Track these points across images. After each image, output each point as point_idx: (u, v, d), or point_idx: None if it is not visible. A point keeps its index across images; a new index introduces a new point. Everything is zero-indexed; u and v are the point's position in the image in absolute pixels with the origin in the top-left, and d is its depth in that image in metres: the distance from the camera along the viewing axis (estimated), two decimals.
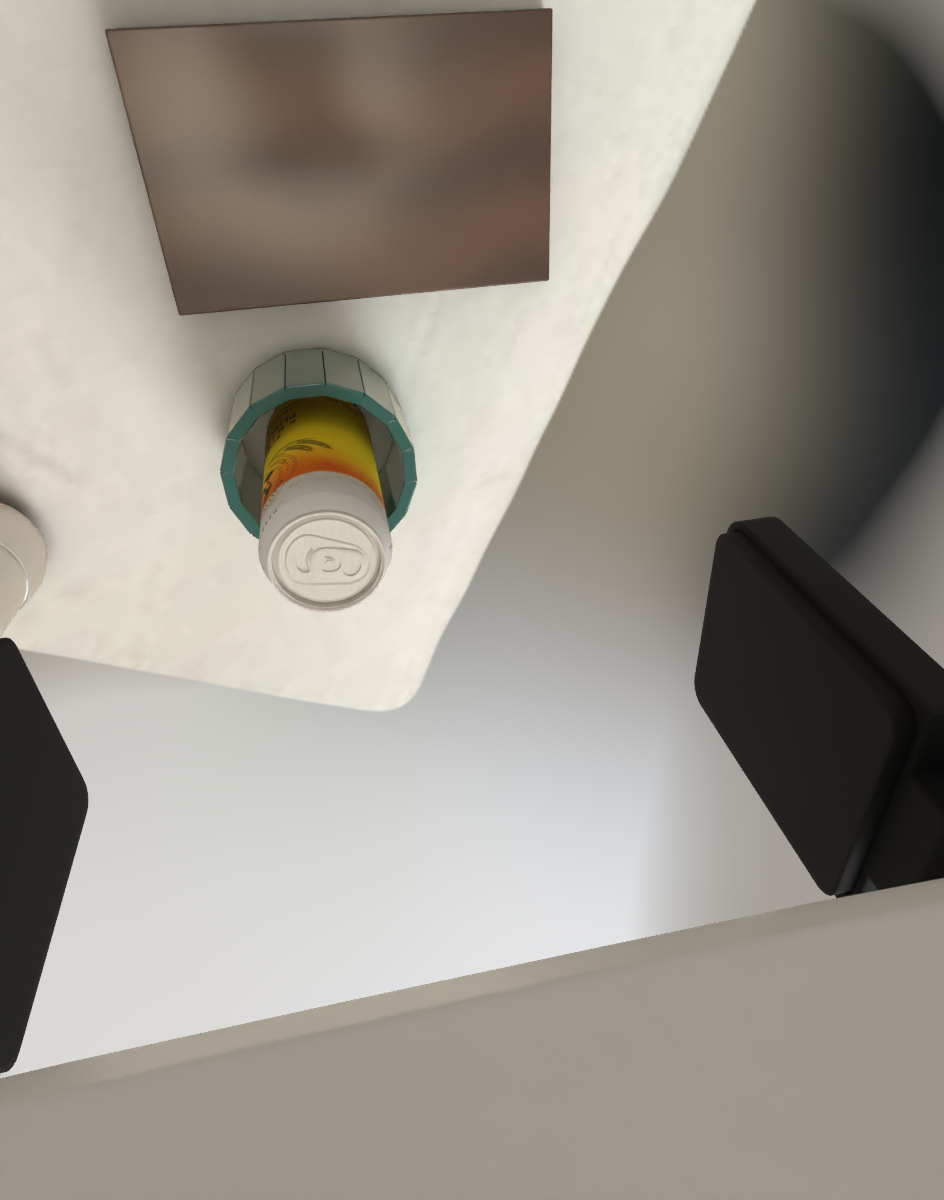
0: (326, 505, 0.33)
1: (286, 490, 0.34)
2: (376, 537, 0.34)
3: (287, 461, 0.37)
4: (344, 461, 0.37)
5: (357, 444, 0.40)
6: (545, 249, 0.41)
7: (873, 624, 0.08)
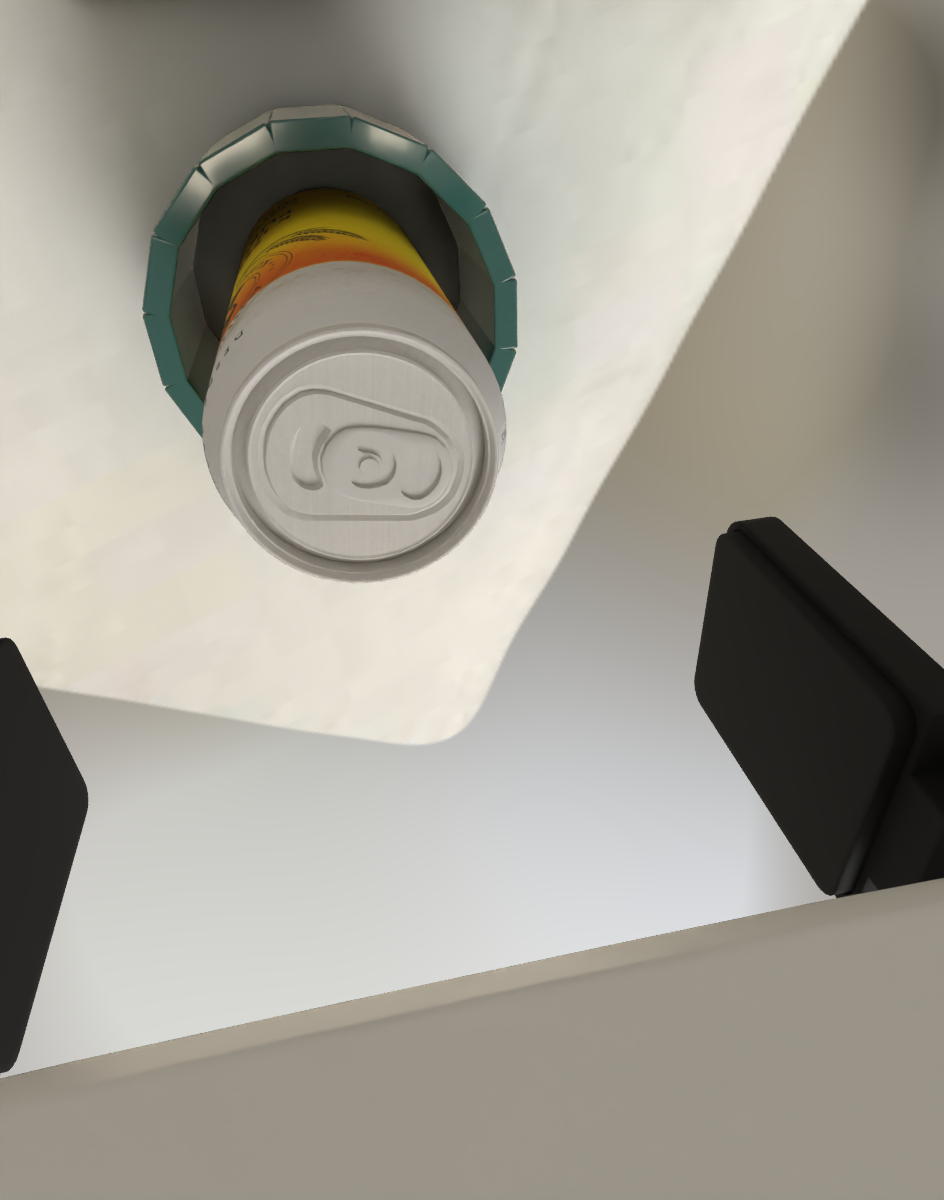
0: (365, 314, 0.13)
1: (267, 295, 0.15)
2: (481, 402, 0.14)
3: (272, 260, 0.17)
4: (395, 258, 0.17)
5: (414, 253, 0.20)
6: None
7: (873, 624, 0.08)
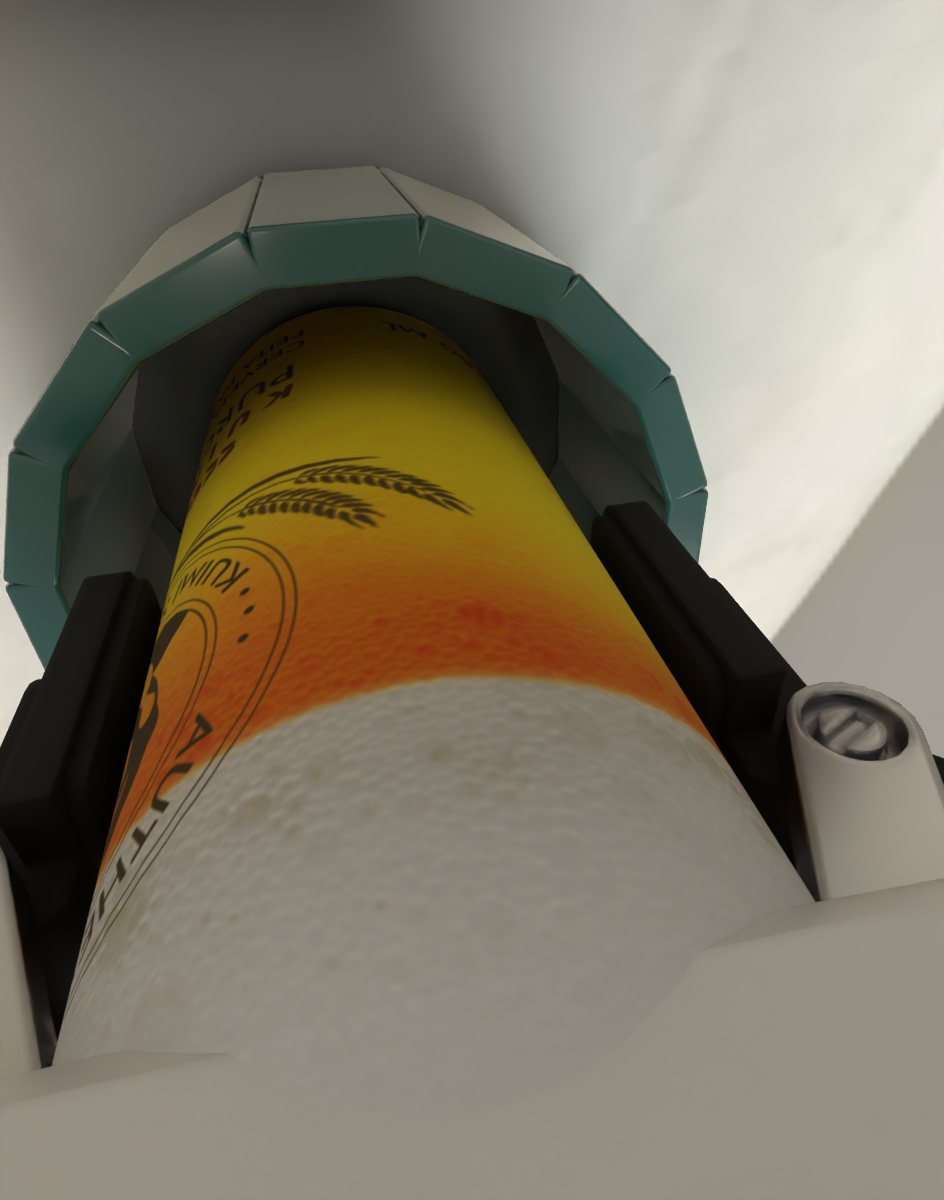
0: None
1: (220, 854, 0.05)
2: None
3: (248, 580, 0.07)
4: (548, 582, 0.07)
5: (539, 480, 0.10)
6: None
7: (707, 598, 0.09)
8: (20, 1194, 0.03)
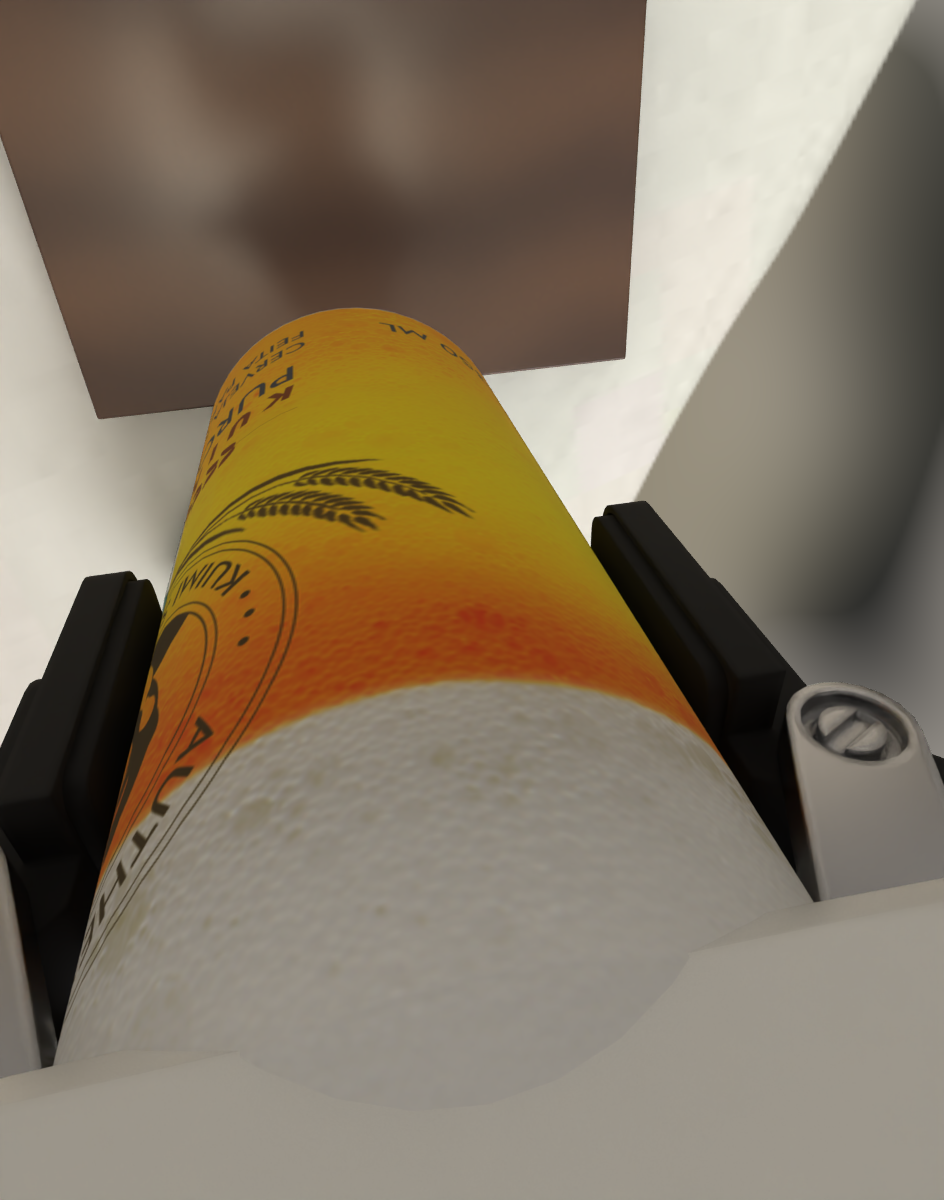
0: None
1: (220, 859, 0.05)
2: None
3: (248, 582, 0.07)
4: (548, 585, 0.07)
5: (539, 482, 0.10)
6: (622, 317, 0.29)
7: (706, 598, 0.09)
8: (19, 1194, 0.03)
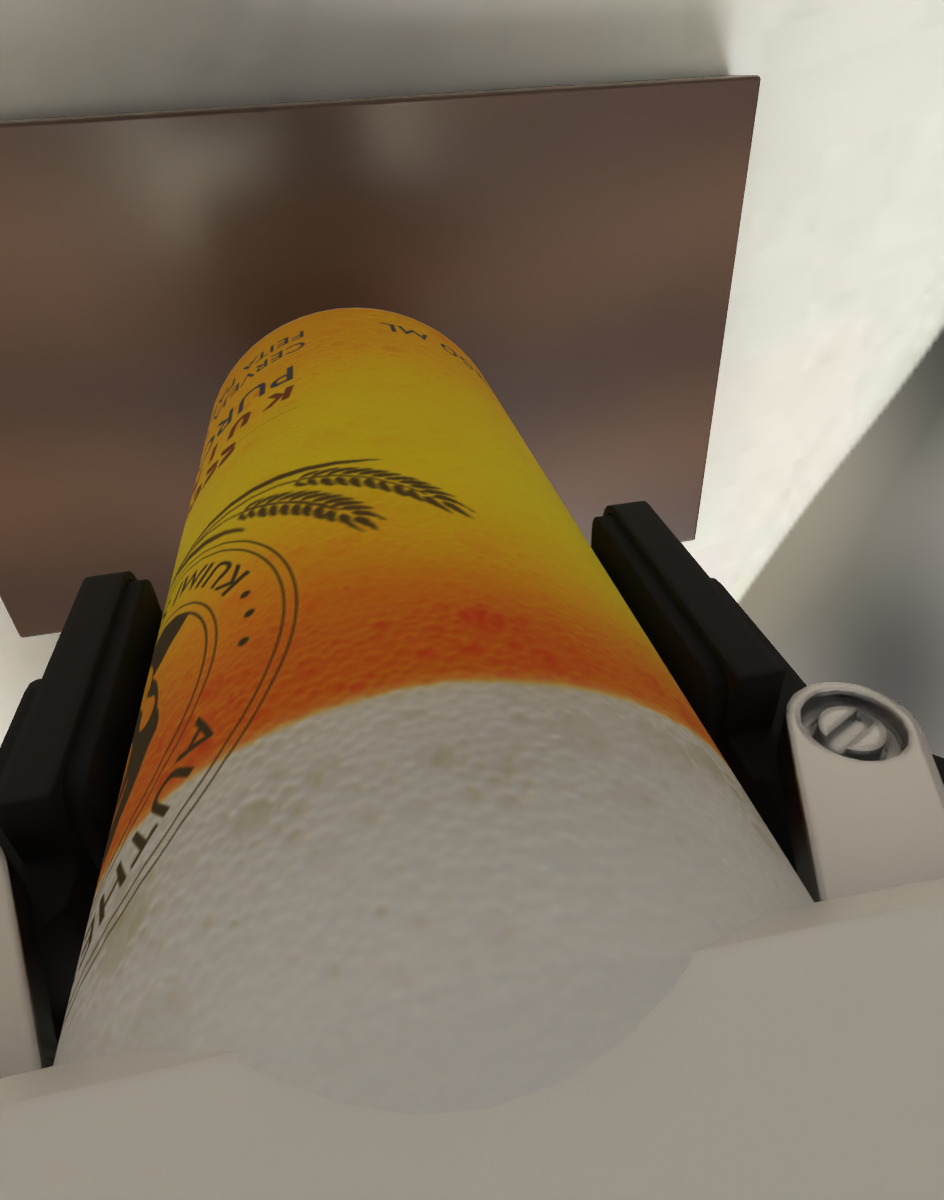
0: None
1: (220, 859, 0.05)
2: None
3: (249, 582, 0.07)
4: (549, 585, 0.07)
5: (539, 482, 0.10)
6: (695, 495, 0.23)
7: (707, 598, 0.09)
8: (20, 1195, 0.03)
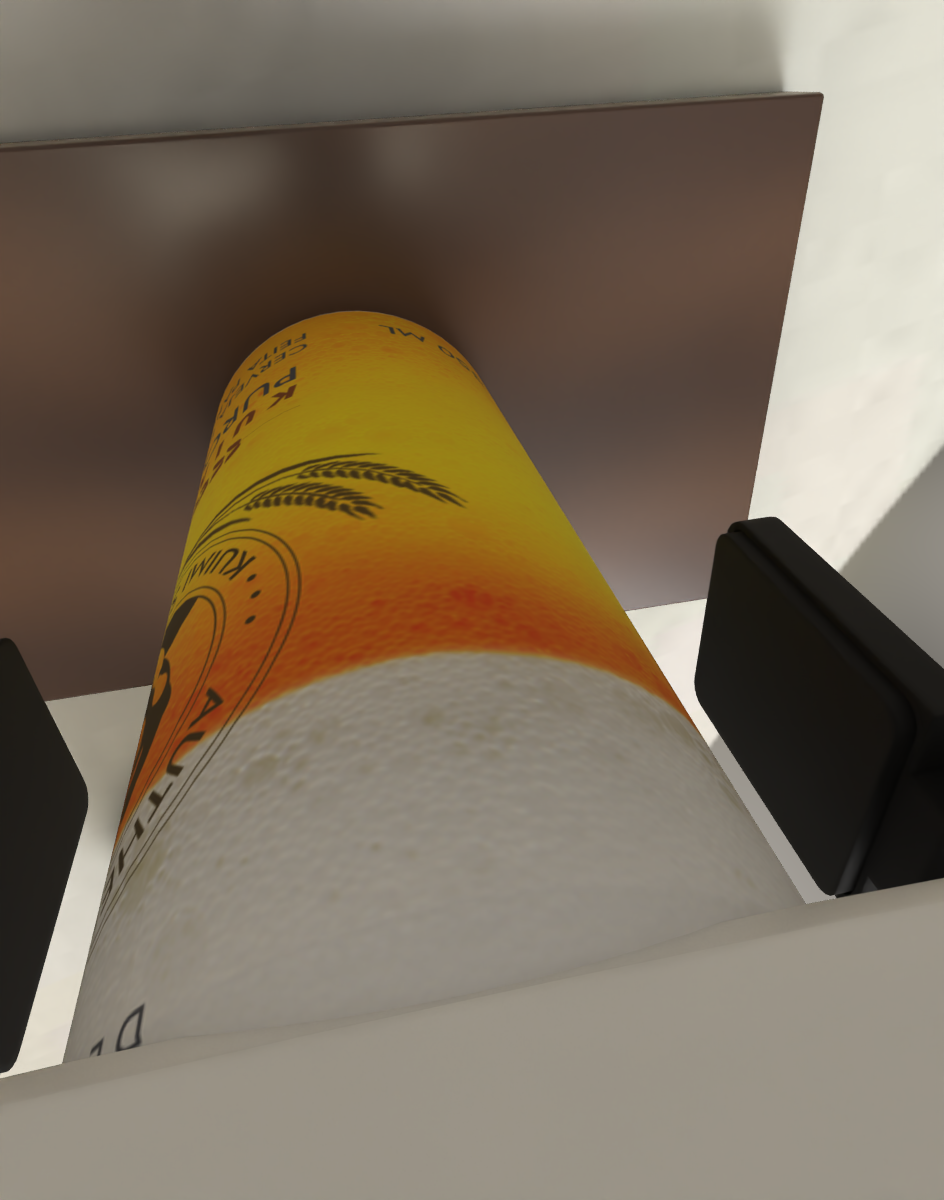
0: None
1: (230, 809, 0.05)
2: None
3: (255, 567, 0.08)
4: (535, 569, 0.07)
5: (530, 476, 0.10)
6: None
7: (873, 624, 0.08)
8: (20, 1194, 0.03)
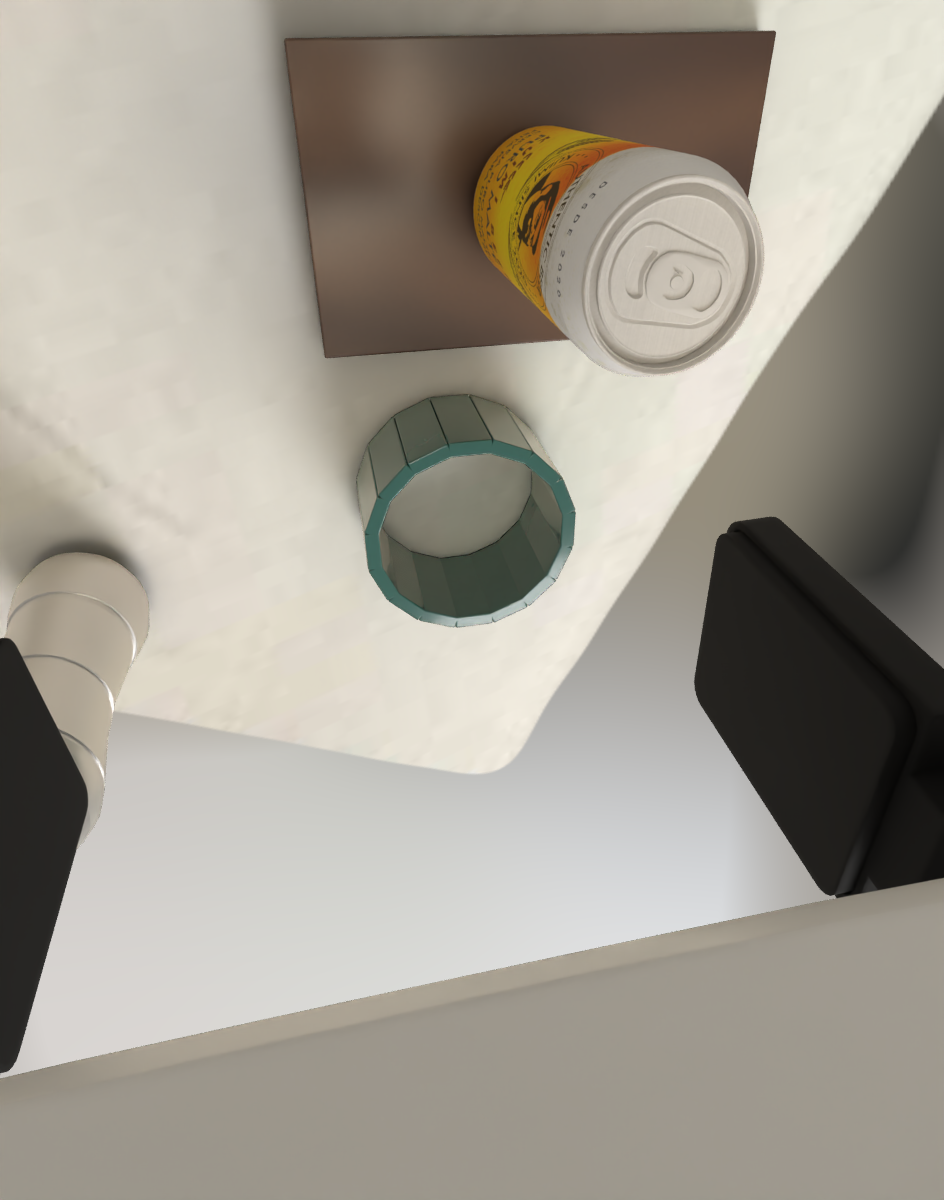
0: (695, 170, 0.20)
1: (609, 164, 0.21)
2: (759, 238, 0.21)
3: (577, 154, 0.24)
4: None
5: None
6: None
7: (873, 624, 0.08)
8: (20, 1194, 0.03)
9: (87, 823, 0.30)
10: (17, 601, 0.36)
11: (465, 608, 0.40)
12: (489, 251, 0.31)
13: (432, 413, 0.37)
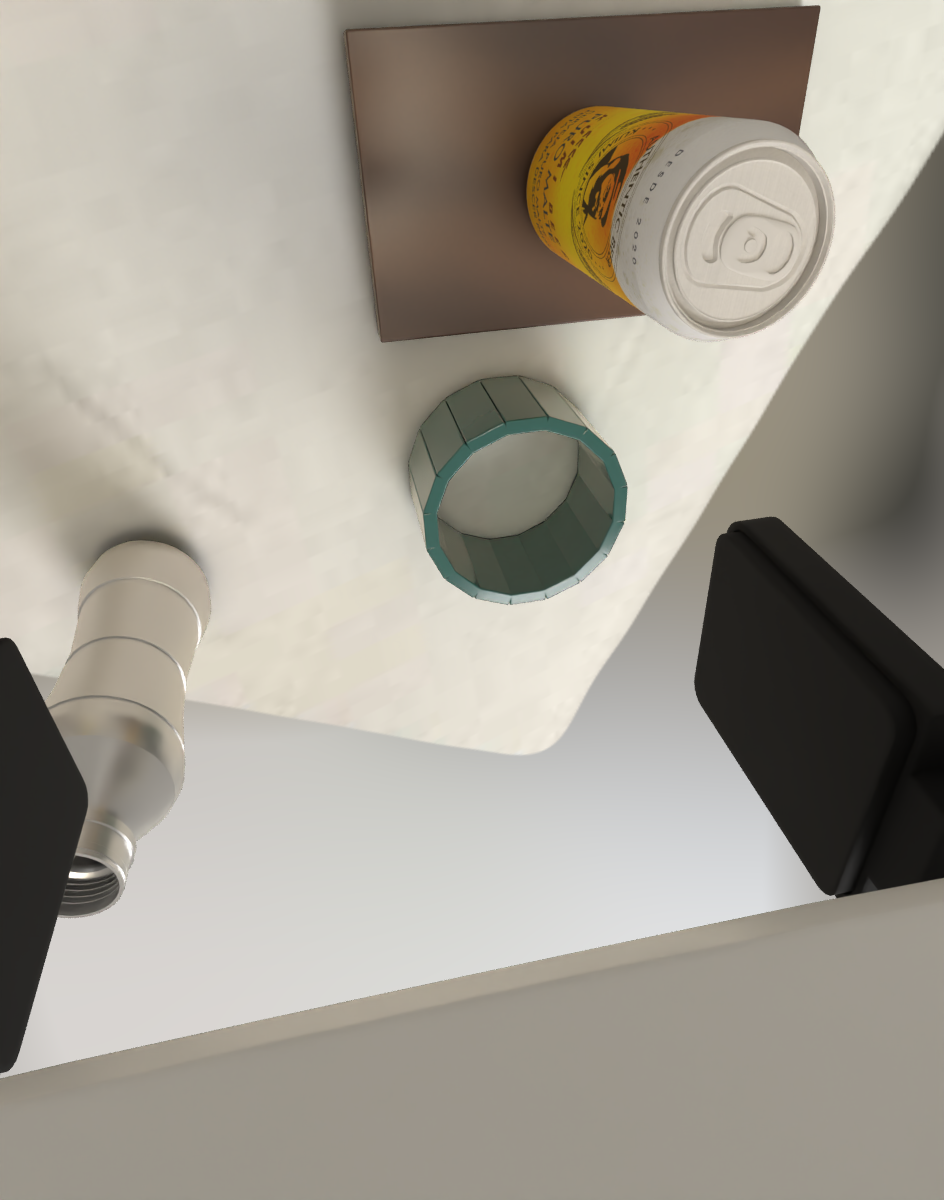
0: (770, 134, 0.21)
1: (681, 134, 0.22)
2: (830, 199, 0.22)
3: (643, 127, 0.25)
4: None
5: None
6: None
7: (873, 624, 0.08)
8: (20, 1194, 0.03)
9: (172, 795, 0.31)
10: (88, 588, 0.37)
11: (518, 586, 0.41)
12: (544, 231, 0.32)
13: (484, 394, 0.38)
